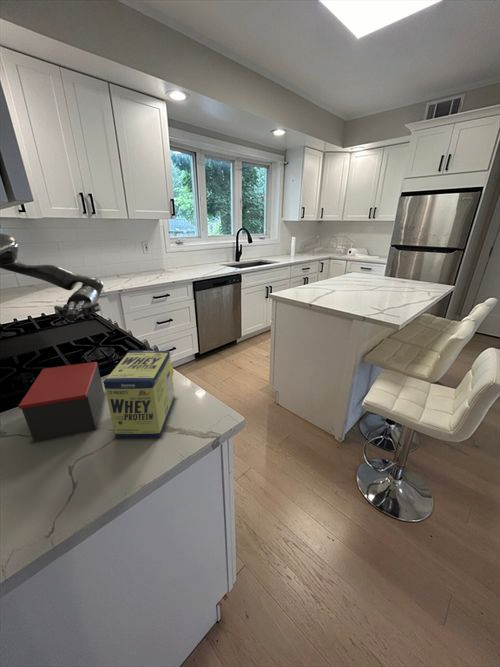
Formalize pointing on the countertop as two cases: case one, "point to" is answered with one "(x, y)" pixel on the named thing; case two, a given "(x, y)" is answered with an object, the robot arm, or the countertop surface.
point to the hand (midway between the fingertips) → (71, 317)
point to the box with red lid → (66, 414)
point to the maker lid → (60, 385)
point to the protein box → (140, 394)
